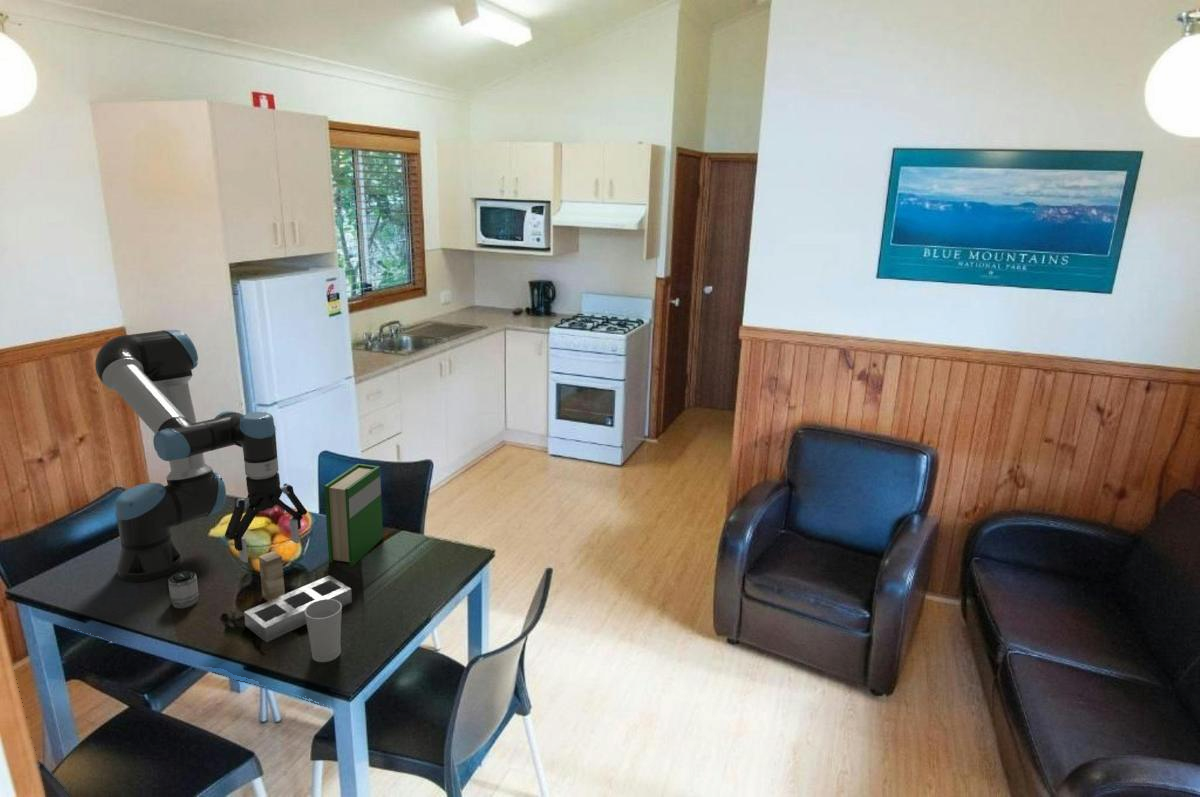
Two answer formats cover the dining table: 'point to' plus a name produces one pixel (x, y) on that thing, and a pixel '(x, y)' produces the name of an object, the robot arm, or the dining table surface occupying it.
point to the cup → (324, 629)
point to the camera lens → (183, 589)
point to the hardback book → (353, 513)
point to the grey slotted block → (293, 608)
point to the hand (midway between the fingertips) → (270, 550)
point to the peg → (271, 575)
